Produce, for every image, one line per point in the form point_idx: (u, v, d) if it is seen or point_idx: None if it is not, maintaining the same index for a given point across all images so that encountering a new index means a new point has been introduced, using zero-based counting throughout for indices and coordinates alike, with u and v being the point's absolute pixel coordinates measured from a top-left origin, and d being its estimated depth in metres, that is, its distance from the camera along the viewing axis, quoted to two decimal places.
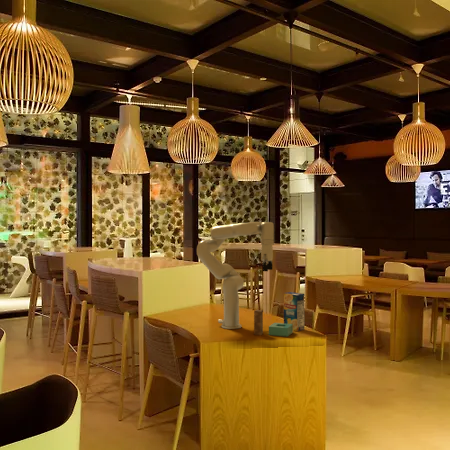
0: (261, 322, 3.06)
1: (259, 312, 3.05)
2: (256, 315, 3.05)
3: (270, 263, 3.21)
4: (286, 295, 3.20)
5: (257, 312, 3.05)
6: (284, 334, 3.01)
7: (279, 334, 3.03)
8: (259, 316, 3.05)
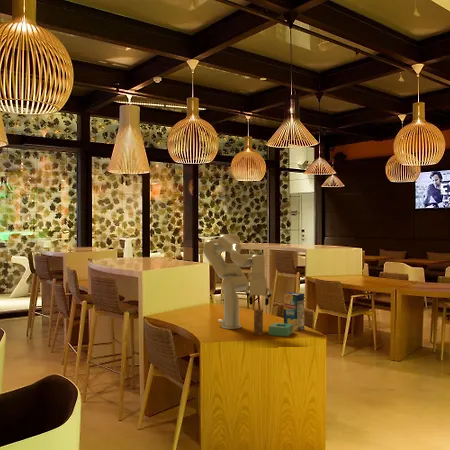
0: (261, 322, 3.06)
1: (259, 312, 3.05)
2: (256, 315, 3.05)
3: (251, 297, 3.09)
4: (286, 295, 3.20)
5: (257, 312, 3.05)
6: (284, 334, 3.01)
7: (279, 334, 3.03)
8: (259, 316, 3.05)
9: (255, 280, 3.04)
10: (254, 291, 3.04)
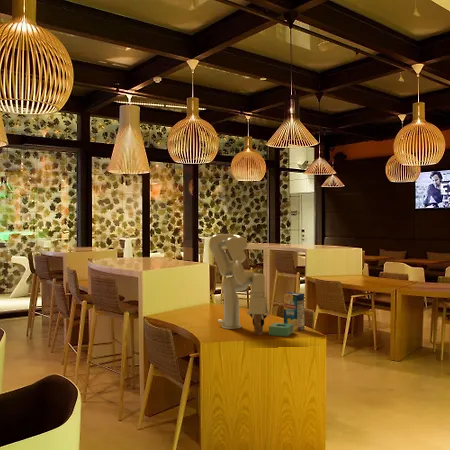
0: None
1: None
2: (256, 315, 3.05)
3: None
4: (286, 295, 3.20)
5: None
6: (284, 334, 3.01)
7: (279, 334, 3.03)
8: (259, 316, 3.05)
9: (255, 299, 3.05)
10: (254, 310, 3.05)
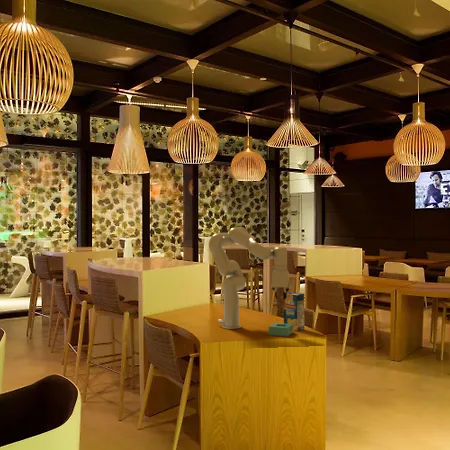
0: None
1: None
2: (279, 288, 3.06)
3: None
4: None
5: None
6: (284, 334, 3.01)
7: (279, 334, 3.03)
8: (282, 289, 3.05)
9: (277, 272, 3.05)
10: (276, 283, 3.06)
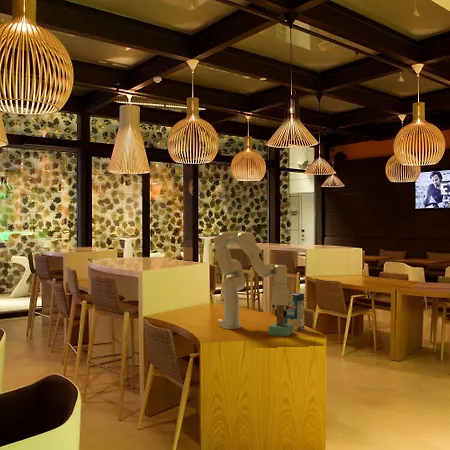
0: None
1: None
2: (279, 306, 3.06)
3: None
4: None
5: None
6: (284, 334, 3.01)
7: (279, 334, 3.03)
8: (282, 307, 3.05)
9: (277, 290, 3.06)
10: (276, 301, 3.06)
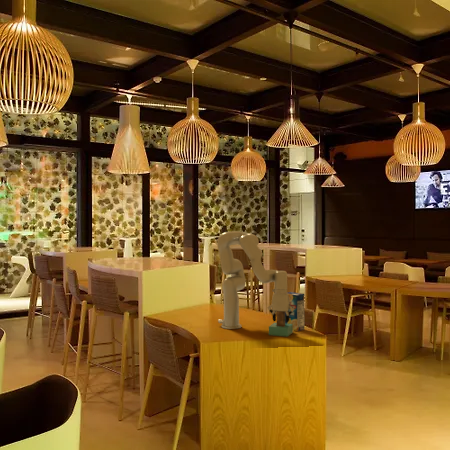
0: (283, 320, 3.07)
1: None
2: (279, 313, 3.07)
3: (275, 314, 3.10)
4: None
5: None
6: (284, 334, 3.01)
7: (279, 334, 3.03)
8: (282, 314, 3.06)
9: (277, 296, 3.06)
10: (276, 307, 3.06)
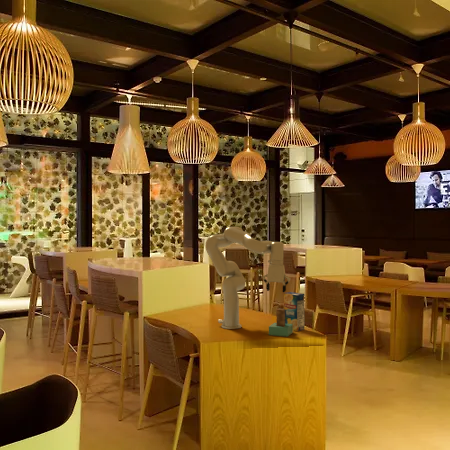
0: (283, 320, 3.07)
1: (282, 311, 3.06)
2: (278, 314, 3.06)
3: (269, 284, 3.12)
4: (286, 295, 3.20)
5: (280, 311, 3.06)
6: (284, 334, 3.01)
7: (279, 334, 3.03)
8: (282, 315, 3.06)
9: (273, 267, 3.07)
10: (272, 278, 3.07)
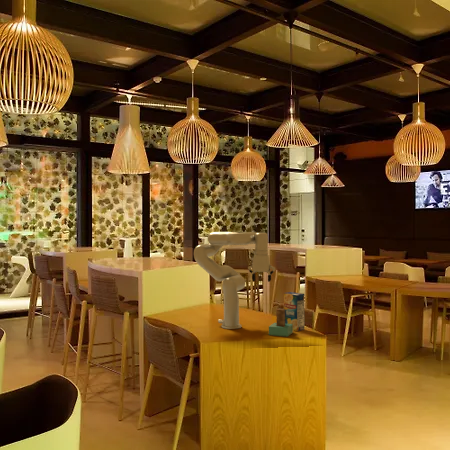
0: (283, 320, 3.07)
1: (282, 311, 3.06)
2: (278, 314, 3.06)
3: (254, 274, 3.17)
4: (286, 295, 3.20)
5: (280, 311, 3.06)
6: (284, 334, 3.01)
7: (279, 334, 3.03)
8: (282, 315, 3.06)
9: (258, 257, 3.13)
10: (257, 268, 3.13)
